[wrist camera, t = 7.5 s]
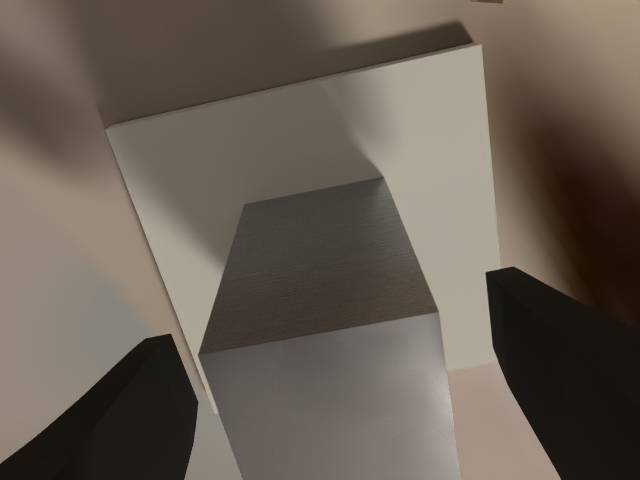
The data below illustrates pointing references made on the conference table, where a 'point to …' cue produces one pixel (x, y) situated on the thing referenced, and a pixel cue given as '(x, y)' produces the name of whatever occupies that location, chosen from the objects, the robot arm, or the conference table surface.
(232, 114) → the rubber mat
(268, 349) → the key peg
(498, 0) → the holder block
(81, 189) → the conference table surface
